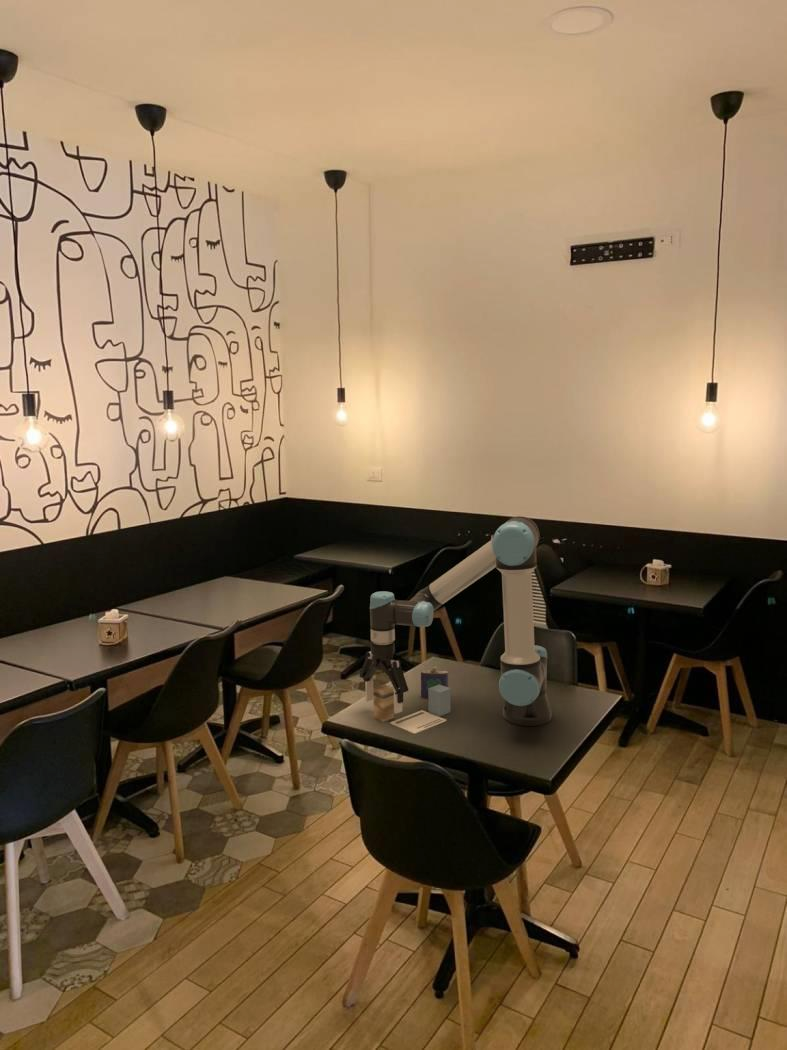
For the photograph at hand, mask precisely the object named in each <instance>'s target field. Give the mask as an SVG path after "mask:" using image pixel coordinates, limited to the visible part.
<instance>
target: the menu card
mask: <svg viewBox="0 0 787 1050" xmlns="http://www.w3.org/2000/svg"><path fill="white" fill-rule="evenodd" d="M447 721H448V720H447V719H446V718H443V717H441V716H437V715H435V714H432V713H430V712H429V711H425V710H423V709H421V710H419V711H416V712H413V713H411V714H409V715H406V716H403V717H401V718H398V719H396V720H392V721H391V722H389V723H390V725H392V726H395V727H397V728H399V729H402V730H405V731H406V732H409V733H411V734H413V735H416V734H419V733H421V732H424V731H426V730H428V729H431V728H432V727H433V728H434V727H435V726H437V725H439V724H443V723H445V722H447Z"/></svg>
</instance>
